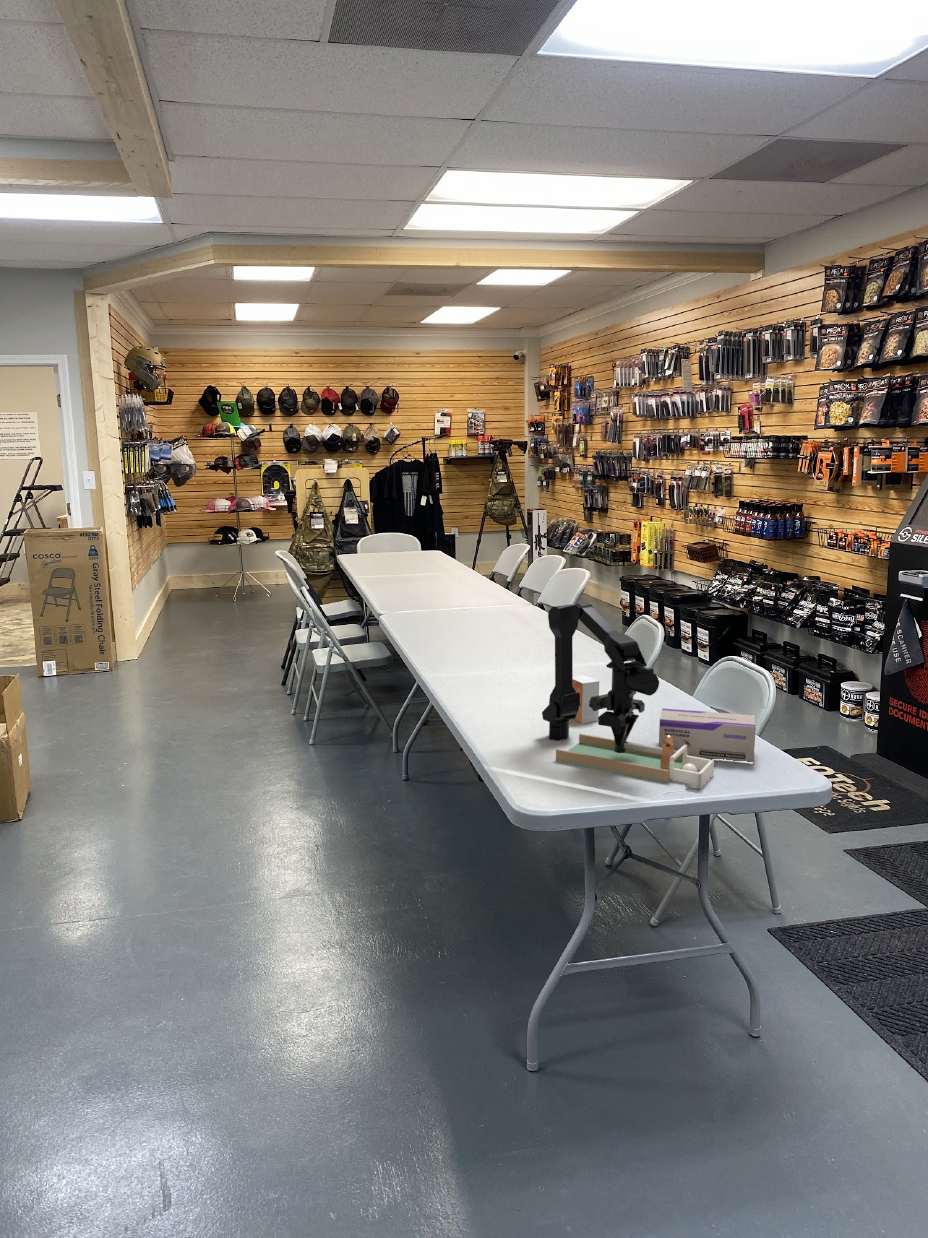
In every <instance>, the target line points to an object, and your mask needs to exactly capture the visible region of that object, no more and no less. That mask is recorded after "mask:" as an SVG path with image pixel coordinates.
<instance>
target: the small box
mask: <svg viewBox="0 0 928 1238" xmlns="http://www.w3.org/2000/svg"><path fill="white" fill-rule="evenodd" d="M573 687H574V689H575V691H576V692H579V693H580V705H581V706H579V710H578V712H577V715H576V718H575V719H573V720H575V721H577V722H578V723H579V724H588V723H594V722H595V723H596V722H598V717H599V716H600V715H599V713H600V712H599V711H600V709H599V710H597V711H593V709H592V708H591V707H589V701H590V698H591V697H593V696H594V697H595V696H597V695H598V696H600V680H598V679H595V678H594V677H591V676H588V675H587V674H585V675H583V674H582V675H577V676H573Z"/></svg>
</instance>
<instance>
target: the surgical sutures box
mask: <svg viewBox="0 0 928 1238" xmlns="http://www.w3.org/2000/svg"><path fill="white" fill-rule="evenodd" d="M756 724H757V723H756V715H754V714H753V715H752V714H739V713H730V712H729V713H727V712H716V711H714V712H713V711H701V710H691V709H690V710H688V709H678V708H677V709H676V708H675V709H673V708H663V707H662V709H661V713H660V717H659V729H658V747H660V748H662V746H663V745H664V744H665V743H664V742H663V738H664V737H665V736H666V735H670V736H672V737H673V743H672V744H674V750H676V751H678V750H679V749H680V748H681V747H682V746H683V745H687V753H688V756H694V757H707V758H708V757H709V758H711V759H723V760H724V759H726V760H733V761H747V762H754V761H755V745H756V732H757V731H756V730H757V728H756V726H757V725H756Z"/></svg>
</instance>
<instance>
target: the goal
mask: <svg viewBox="0 0 928 1238" xmlns="http://www.w3.org/2000/svg"><path fill="white" fill-rule="evenodd" d="M682 752H683V764H682V765H685V764H687V763H691V764H693V765H695V767H696V768H697V772H693V771H688V770H682V769H677V768H674V760H675V759H676V758H677V757H678V756H679V755H680V754H681V753H682ZM714 769H715V761H714V760H711V758H710V759H709V758H705V757H700V756H694V755H687V745H683V746H682V747H681V748H680V749H679V750H678V751H677V752H676V753H675V754H674V755H672V756H671V757H670V769H669V770H670V775H669V778H671V781H674V782H679V783H685V784H686V785H685V786H684V787H686V788H692V789H695V788H697V790H701V789H702V788H703V787H704V786H705V785H706V784H707V783H708V781H709V780H711V778H712V777H713V776H714V772H715V771H714ZM698 772H699V773H698ZM712 775H713V776H712ZM711 776H712V777H711ZM710 777H711V778H710ZM706 782H707V783H706ZM705 783H706V784H705ZM704 784H705V785H704ZM703 785H704V786H703Z"/></svg>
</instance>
